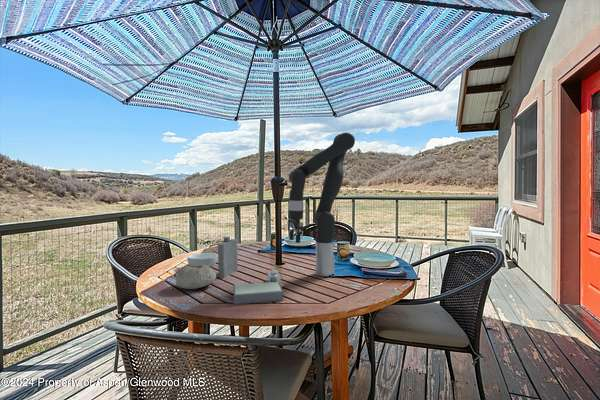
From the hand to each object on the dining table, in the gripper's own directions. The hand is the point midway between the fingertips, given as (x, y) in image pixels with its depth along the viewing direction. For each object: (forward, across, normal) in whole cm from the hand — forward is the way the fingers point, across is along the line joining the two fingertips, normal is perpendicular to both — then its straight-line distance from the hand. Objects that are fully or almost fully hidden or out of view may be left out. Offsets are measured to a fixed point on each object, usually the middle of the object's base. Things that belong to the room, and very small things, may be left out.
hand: (294, 241), depth 169 cm
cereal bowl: (+21, +40, +40) cm, 60 cm away
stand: (+20, -20, +24) cm, 37 cm away
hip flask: (+20, +20, +29) cm, 41 cm away
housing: (+19, -6, +12) cm, 24 cm away
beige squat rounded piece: (+21, +5, +47) cm, 52 cm away
